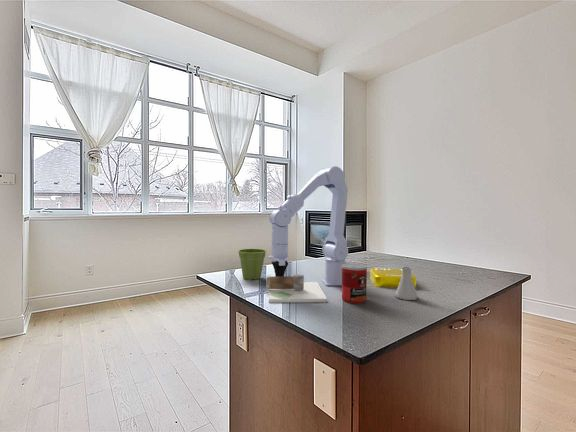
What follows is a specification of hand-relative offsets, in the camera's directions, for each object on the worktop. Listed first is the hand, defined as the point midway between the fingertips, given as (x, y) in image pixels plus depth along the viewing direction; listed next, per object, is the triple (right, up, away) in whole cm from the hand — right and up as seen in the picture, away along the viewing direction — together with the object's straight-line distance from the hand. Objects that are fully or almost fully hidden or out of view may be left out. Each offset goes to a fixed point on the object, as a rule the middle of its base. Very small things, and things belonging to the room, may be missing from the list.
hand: (279, 281), depth 108 cm
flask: (+42, -4, -8) cm, 43 cm away
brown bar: (+2, -1, -4) cm, 5 cm away
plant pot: (-12, -2, +16) cm, 20 cm away
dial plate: (+6, -3, -4) cm, 7 cm away
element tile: (+44, -3, +11) cm, 45 cm away
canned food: (+24, -4, -11) cm, 27 cm away
